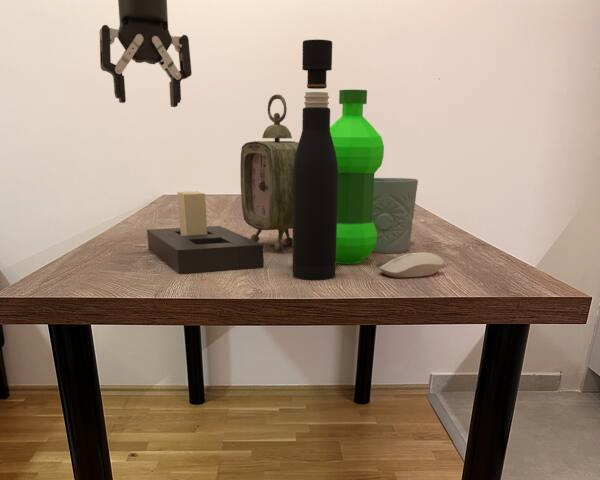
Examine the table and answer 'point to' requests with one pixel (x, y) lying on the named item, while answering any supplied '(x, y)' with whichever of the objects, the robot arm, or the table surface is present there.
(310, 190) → the black insulated flask
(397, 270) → the computer mouse
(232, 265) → the base
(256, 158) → the tabletop clock
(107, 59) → the robot arm
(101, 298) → the table surface
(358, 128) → the plastic bottle
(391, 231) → the drinking glass
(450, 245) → the table surface
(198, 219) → the tan wooden block
